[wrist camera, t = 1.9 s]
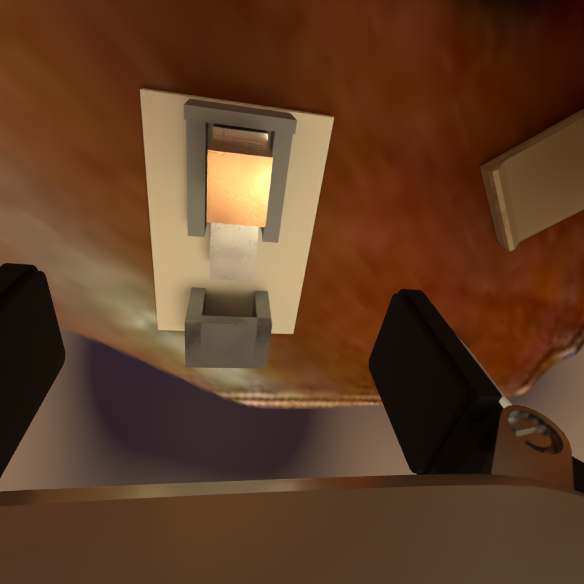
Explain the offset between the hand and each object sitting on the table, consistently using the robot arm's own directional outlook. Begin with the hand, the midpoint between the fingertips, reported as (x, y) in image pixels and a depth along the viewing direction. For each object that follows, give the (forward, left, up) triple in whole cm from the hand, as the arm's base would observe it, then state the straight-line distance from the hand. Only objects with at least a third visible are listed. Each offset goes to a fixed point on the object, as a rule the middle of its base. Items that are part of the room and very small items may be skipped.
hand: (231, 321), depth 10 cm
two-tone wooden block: (0, +3, -19) cm, 19 cm away
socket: (0, +14, -19) cm, 24 cm away
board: (0, +7, -20) cm, 21 cm away
